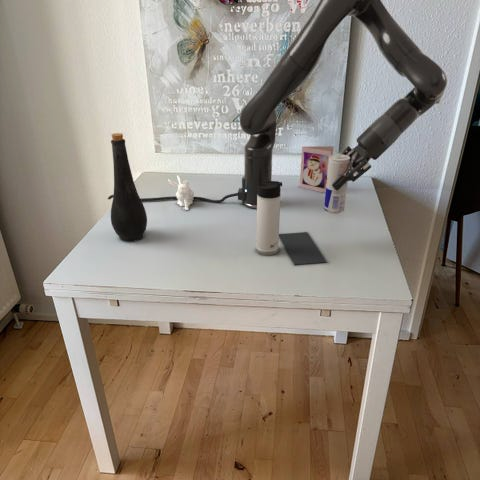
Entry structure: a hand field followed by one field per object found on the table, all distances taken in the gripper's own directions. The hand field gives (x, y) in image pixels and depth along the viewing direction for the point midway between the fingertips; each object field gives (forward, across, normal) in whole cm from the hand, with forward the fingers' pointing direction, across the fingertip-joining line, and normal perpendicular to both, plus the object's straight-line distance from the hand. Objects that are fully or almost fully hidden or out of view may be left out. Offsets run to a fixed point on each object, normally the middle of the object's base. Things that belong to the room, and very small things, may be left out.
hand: (330, 184), depth 132 cm
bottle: (+53, -16, -26) cm, 61 cm away
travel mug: (+25, 0, +1) cm, 25 cm away
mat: (+18, 0, +8) cm, 20 cm away
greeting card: (+5, -49, +22) cm, 54 cm away
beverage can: (+4, 0, +7) cm, 8 cm away
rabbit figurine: (+41, -41, -14) cm, 60 cm away
